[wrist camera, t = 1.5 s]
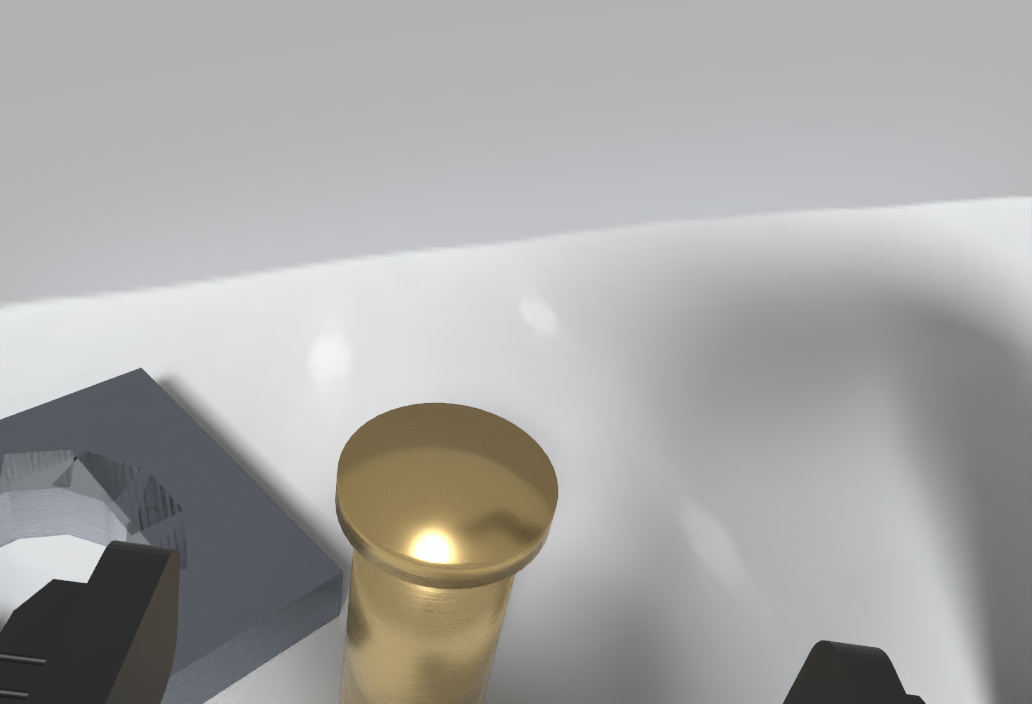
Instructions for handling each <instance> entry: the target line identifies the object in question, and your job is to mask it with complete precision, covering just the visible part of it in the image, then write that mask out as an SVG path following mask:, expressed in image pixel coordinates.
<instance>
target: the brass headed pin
mask: <svg viewBox="0 0 1032 704" xmlns="http://www.w3.org/2000/svg"><path fill="white" fill-rule="evenodd" d="M557 499H558V483H557V477H556V474H555V471H554V468H553V466H552V464H551V462H550V460H549V458H548V456H547V455H546V454H545V452H544V451H543V449H542V448H541V447H540V446H539V445H538V444H537V443H536V441H535V440H534V439H533V438H531V437H530V436H529V435H528V434H527V433H526V432H524V431H523V430H522V429H520V428H519V427H517V426H516V425H514V424H513V423H511V422H509V421H507V420H505V419H504V418H501V417H499V416H497V415H495V414H492V413H489V412H487V411H484V410H481V409H477V408H473V407H469V406H464V405H458V404H449V403H423V404H414V405H409V406H404V407H400V408H397V409H393V410H390V411H388V412H385V413H383V414H381V415H378V416H377V417H375V418H373V419H371V420H370V421H368V422H367V423H365V424H364V425H363V426H361V427H360V428H359V429H358V430H357V431H356V432H355V433H354V434H353V435H352V436H351V438H350V439H349V440H348V442H347V443H346V445H345V447H344V449H343V451H342V453H341V456H340V459H339V463H338V471H337V484H336V498H335V504H336V513H337V517H338V521H339V524H340V526H341V528H342V530H343V533H344V534H345V536H346V537H347V539H348V540H349V542H350V543H351V545H352V546H353V547H354V552H353V563H352V574H351V585H350V595H349V606H348V617H347V627H346V638H345V649H344V660H343V670H342V681H341V692H340V703H339V704H482V701H483V697H484V693H485V689H486V685H487V682H488V678H489V674H490V670H491V666H492V662H493V658H494V654H495V650H496V646H497V642H498V638H499V635H500V631H501V627H502V623H503V619H504V615H505V611H506V607H507V603H508V599H509V595H510V592H511V588H512V584H513V580H514V576H515V573H517V572H518V571H520V570H522V569H523V568H524V567H525V566H526V565H528V564H529V563H530V562H531V561H532V560H533V559H534V558H535V557H536V555H537V554H538V553H539V552H540V550H541V549H542V547H543V545H544V544H545V541H546V539H547V536H548V534H549V530H550V527H551V523H552V520H553V516H554V512H555V509H556V504H557Z"/></svg>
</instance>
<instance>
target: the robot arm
mask: <svg viewBox="0 0 1032 704" xmlns="http://www.w3.org/2000/svg"><path fill="white" fill-rule="evenodd" d="M179 573H180V553H179V550H178V549H176V548H168V547H161V546H154V545H147V544H139V543H132V542H125V541H118V540H113V541H111V542H110V543H109V545H108V546H107V547H106V549H105V551H104V552H103V554H102V556H101V558H100V560H99V562H98V564H97V566H96V567H95V569H94V571H93V573H92V575H91V577H90V579H89V581H88V583H79V582H72V581H64V580H57V579H53V580H52V581H51V582H49V583H48V584H47V585H46V586H44V587H43V588H42V589H41V590H39V591H38V592H37V593H36V594H34V595H33V596H32V597H30V598H29V599H28V600H27V601H25V602H24V603H23V604H22V605H20V606H19V607H18V608H17V609H15V610H14V611H13V613H12V615H11V616H10V618H9V620H8V621H7V623H6V625H5V626H4V628H3V630H2V631H1V633H0V704H161V701H162V698H163V696H164V693H165V690H166V687H167V684H168V681H169V677H170V673H171V669H172V665H173V661H174V656H175V650H176V643H177V629H178V601H179ZM783 704H926V703H925V702H924V701H923V700H922V699H921V698H920V697H919V696H916V695H908V694H906V692H905V690H904V688H903V686H902V684H901V682H900V680H899V677H898V675H897V673H896V671H895V669H894V667H893V665H892V663H891V661H890V659H889V657H888V656H887V654H886V653H885V652H884V651H883V650H881V649H879V648H875V647H868V646H861V645H854V644H847V643H839V642H832V641H825V640H822V641H819V642H818V643H816V644H815V645H814V647H813V648H812V650H811V651H810V653H809V655H808V657H807V659H806V661H805V663H804V665H803V667H802V669H801V670H800V672H799V674H798V676H797V678H796V680H795V682H794V684H793V686H792V687H791V689H790V691H789V693H788V695H787V697H786V699H785V701H784V703H783Z"/></svg>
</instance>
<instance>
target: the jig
mask: <svg viewBox="0 0 1032 704" xmlns="http://www.w3.org/2000/svg"><path fill="white" fill-rule="evenodd" d="M61 534H71V535H74V536H77V537H80V538H83V539H86V540H89V541H92V542H96V543H99V544H102V545H105V546H108V545H109V543H110V542H111V541H113V540H118V541H125V542H132V543H139V544H147V545H154V546H161V547H168V548H176V549H178V550H179V553H180V573H179V601H178V629H177V643H176V650H175V656H174V661H173V665H172V669H171V673H170V677H169V681H168V684H167V687H166V690H165V693H164V696H163V698H162V701H161V704H202V703H204V702H206V701H207V700H209V699H210V698H212V697H213V696H215V695H216V694H218V693H219V692H221V691H222V690H224V689H226V688H227V687H229V686H230V685H232V684H233V683H235V682H236V681H238V680H239V679H241V678H243V677H244V676H246V675H247V674H249V673H250V672H252V671H253V670H255V669H256V668H258V667H260V666H261V665H263V664H264V663H266V662H267V661H269V660H270V659H272V658H273V657H275V656H276V655H278V654H280V653H281V652H283V651H284V650H286V649H287V648H289V647H290V646H292V645H293V644H295V643H297V642H298V641H300V640H301V639H303V638H304V637H306V636H307V635H309V634H310V633H312V632H314V631H315V630H317V629H318V628H320V627H321V626H323V625H324V624H326V623H327V622H329V621H331V620H332V619H334V618H335V617H337V616H338V615H339V609H340V597H341V585H342V573H343V571H342V570H341V569H340V568H339V567H338V566H337V565H336V564H335V563H334V562H333V561H332V560H331V559H330V558H329V557H328V556H327V555H326V554H325V553H324V552H323V551H322V550H321V549H320V548H319V547H318V546H317V545H316V544H315V543H314V542H313V541H312V540H311V539H310V538H309V537H308V536H307V535H306V534H305V533H304V532H303V531H302V530H301V529H300V528H299V527H298V526H297V525H296V524H295V523H294V522H293V521H292V520H291V519H290V518H289V517H288V516H287V515H286V514H285V513H284V512H283V511H282V510H281V509H280V508H279V507H278V506H277V505H276V504H275V502H274V501H273V500H272V499H271V498H270V497H269V496H268V495H267V494H266V493H265V492H264V491H263V490H262V489H261V488H260V487H259V486H258V485H257V484H256V483H255V482H254V481H253V480H252V479H251V478H250V477H249V476H248V475H247V474H246V473H245V472H244V471H243V470H242V469H241V468H240V467H239V466H238V465H237V464H236V463H235V462H234V461H233V460H232V459H231V458H230V457H229V456H228V455H227V454H226V453H225V452H224V451H223V450H222V449H221V448H220V447H219V446H218V445H217V444H216V443H215V442H214V441H213V440H212V439H211V438H210V437H209V436H208V435H207V434H206V433H205V432H204V431H203V430H202V429H201V428H200V427H199V426H198V425H197V424H196V423H195V422H194V421H193V420H192V419H191V417H190V416H189V415H188V414H187V413H186V412H185V411H184V410H183V409H182V408H181V407H180V406H179V405H178V404H177V403H176V402H175V401H174V400H173V399H172V398H171V397H170V396H169V395H168V394H167V393H166V392H165V391H164V390H163V389H162V388H161V387H160V386H159V385H158V384H157V383H156V382H155V381H154V380H153V379H152V378H151V377H150V376H149V375H148V374H147V373H146V372H145V371H144V370H143V369H142V368H139V369H136V370H134V371H131V372H128V373H126V374H123V375H120V376H117V377H115V378H112V379H109V380H107V381H104V382H101V383H99V384H96V385H93V386H90V387H88V388H85V389H82V390H80V391H77V392H74V393H71V394H69V395H66V396H63V397H61V398H58V399H55V400H53V401H50V402H47V403H44V404H42V405H39V406H36V407H34V408H31V409H28V410H25V411H23V412H20V413H17V414H15V415H12V416H9V417H7V418H4V419H1V420H0V546H3V545H5V544H7V543H9V542H11V541H14V540H16V539H18V538H28V537H39V536H50V535H61Z"/></svg>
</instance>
